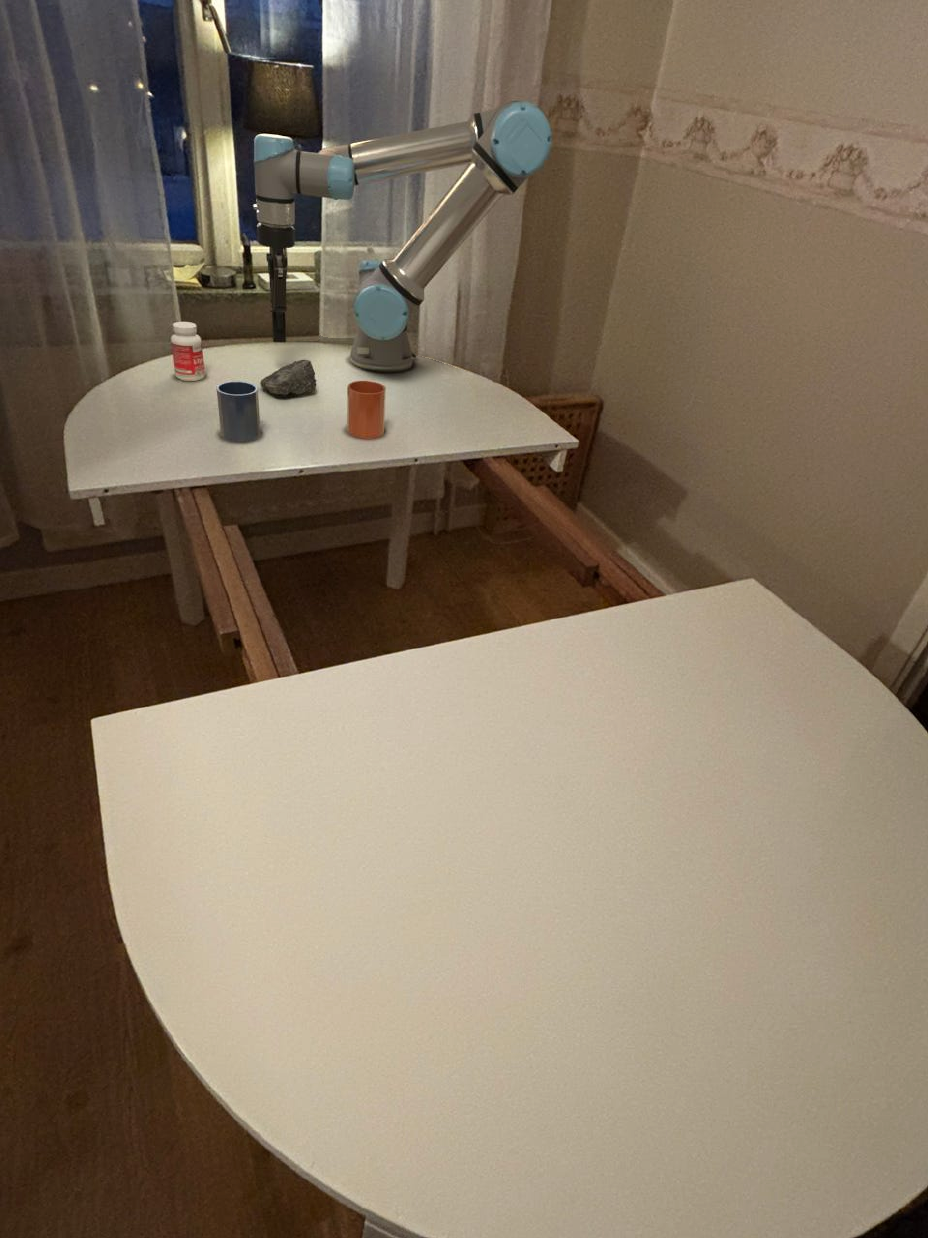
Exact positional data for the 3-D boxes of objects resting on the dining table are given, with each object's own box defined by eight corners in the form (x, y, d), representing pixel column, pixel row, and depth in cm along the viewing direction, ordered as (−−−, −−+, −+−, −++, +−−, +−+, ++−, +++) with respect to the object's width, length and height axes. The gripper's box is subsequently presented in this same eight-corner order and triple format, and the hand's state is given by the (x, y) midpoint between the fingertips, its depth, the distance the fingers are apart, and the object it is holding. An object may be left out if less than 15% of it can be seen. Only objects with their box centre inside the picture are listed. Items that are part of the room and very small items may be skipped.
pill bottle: (199, 383, 159) (194, 330, 152) (171, 379, 159) (164, 326, 152) (209, 373, 164) (204, 322, 157) (181, 370, 164) (175, 318, 157)
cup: (258, 426, 144) (255, 381, 138) (262, 441, 138) (259, 394, 133) (219, 427, 141) (215, 381, 136) (222, 443, 136) (217, 395, 131)
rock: (257, 387, 160) (255, 360, 156) (303, 381, 166) (303, 354, 162) (275, 403, 155) (273, 375, 151) (322, 396, 160) (322, 369, 157)
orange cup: (379, 424, 151) (380, 380, 146) (387, 438, 146) (389, 393, 140) (344, 424, 149) (344, 380, 144) (351, 439, 144) (351, 394, 138)
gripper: (253, 216, 155) (259, 331, 169) (260, 228, 146) (265, 350, 160) (290, 219, 158) (292, 332, 172) (298, 231, 148) (300, 350, 162)
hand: (279, 341), depth 166 cm, fingers closed
